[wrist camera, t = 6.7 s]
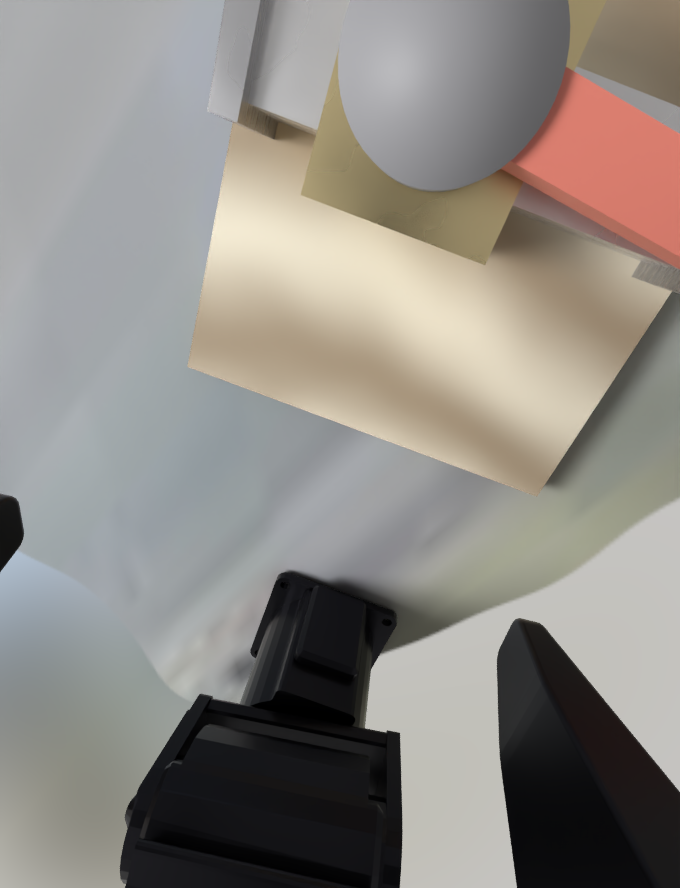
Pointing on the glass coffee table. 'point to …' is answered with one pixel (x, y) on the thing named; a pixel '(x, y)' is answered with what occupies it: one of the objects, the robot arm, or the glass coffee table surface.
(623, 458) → the glass coffee table surface
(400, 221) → the valve body
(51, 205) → the glass coffee table surface
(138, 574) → the glass coffee table surface
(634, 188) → the lever
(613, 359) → the board
